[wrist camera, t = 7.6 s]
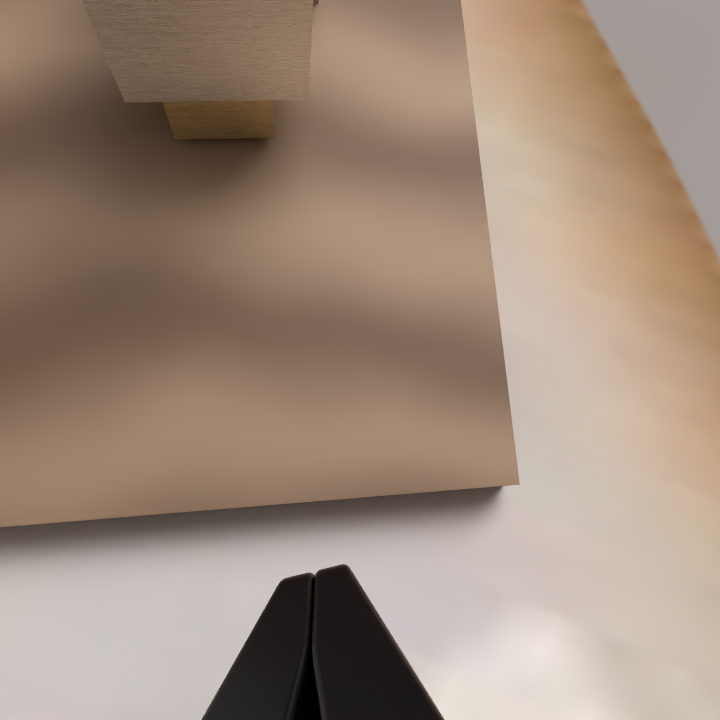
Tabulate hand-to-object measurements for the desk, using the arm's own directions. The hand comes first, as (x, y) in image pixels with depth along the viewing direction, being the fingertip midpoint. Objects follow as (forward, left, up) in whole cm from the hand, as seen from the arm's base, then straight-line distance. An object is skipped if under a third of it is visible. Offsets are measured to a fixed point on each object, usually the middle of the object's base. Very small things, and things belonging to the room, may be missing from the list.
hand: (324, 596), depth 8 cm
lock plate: (+8, +9, -12) cm, 17 cm away
